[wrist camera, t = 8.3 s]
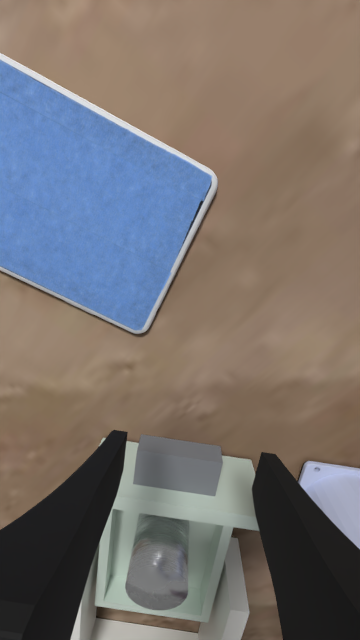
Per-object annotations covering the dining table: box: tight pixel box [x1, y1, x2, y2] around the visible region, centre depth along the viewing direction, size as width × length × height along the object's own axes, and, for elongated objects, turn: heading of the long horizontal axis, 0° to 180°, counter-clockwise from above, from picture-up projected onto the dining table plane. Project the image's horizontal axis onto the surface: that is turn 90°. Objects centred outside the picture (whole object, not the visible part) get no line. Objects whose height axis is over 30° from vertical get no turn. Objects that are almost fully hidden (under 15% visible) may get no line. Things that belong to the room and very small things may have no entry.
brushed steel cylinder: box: [125, 513, 189, 610], centre depth 22 cm, size 5×5×5 cm
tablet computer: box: [0, 53, 218, 334], centre depth 18 cm, size 19×13×1 cm, turn 64°
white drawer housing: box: [70, 537, 250, 640], centre depth 25 cm, size 15×16×6 cm
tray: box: [95, 434, 259, 623], centre depth 23 cm, size 13×19×5 cm
